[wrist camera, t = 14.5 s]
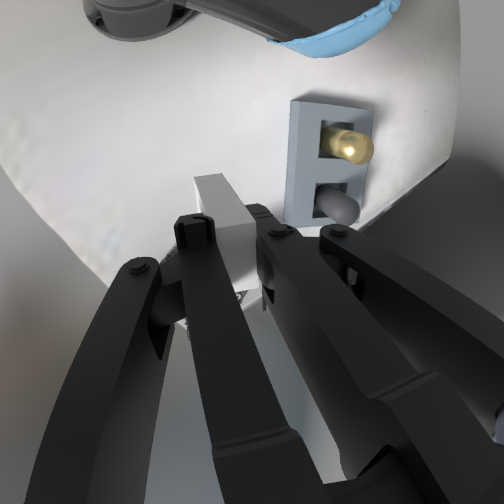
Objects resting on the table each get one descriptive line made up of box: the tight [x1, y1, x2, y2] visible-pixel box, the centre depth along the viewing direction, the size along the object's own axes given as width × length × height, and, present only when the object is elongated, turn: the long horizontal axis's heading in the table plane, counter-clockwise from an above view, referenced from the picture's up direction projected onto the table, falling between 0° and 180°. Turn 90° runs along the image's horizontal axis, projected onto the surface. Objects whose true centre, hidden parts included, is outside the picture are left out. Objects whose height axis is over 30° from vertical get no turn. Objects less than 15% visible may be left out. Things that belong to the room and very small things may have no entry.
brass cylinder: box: [319, 126, 374, 165], centre depth 37 cm, size 4×4×8 cm
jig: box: [283, 101, 373, 228], centre depth 39 cm, size 18×12×8 cm, turn 178°
